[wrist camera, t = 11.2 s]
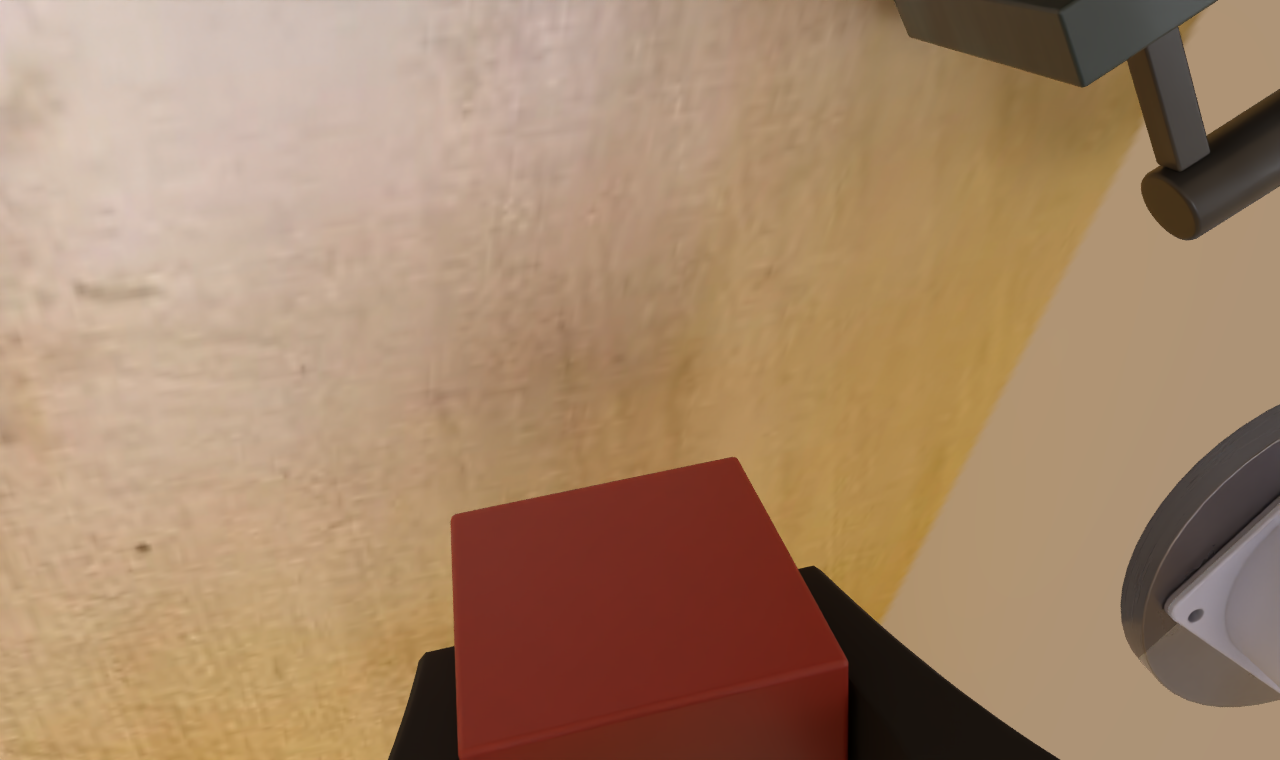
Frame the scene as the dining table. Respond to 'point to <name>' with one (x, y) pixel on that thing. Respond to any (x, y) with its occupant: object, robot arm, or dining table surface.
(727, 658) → the block
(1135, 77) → the drawer
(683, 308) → the dining table surface
